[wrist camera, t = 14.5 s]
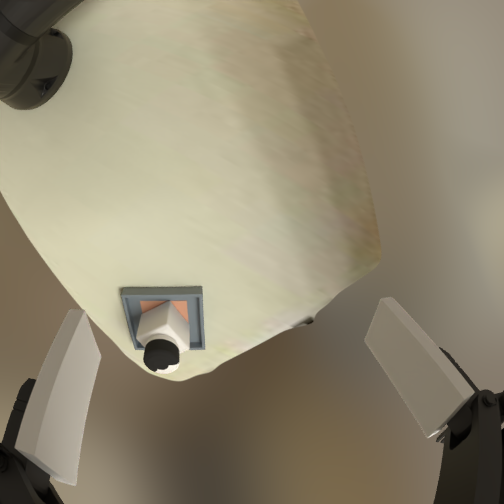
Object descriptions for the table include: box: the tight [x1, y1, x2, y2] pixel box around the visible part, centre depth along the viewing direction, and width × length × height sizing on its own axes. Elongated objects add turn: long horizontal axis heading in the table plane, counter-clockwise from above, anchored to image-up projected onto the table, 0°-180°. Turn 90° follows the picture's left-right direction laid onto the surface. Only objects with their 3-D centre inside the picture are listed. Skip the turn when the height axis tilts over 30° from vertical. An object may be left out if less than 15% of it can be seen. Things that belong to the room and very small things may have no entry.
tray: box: [121, 287, 205, 350], centre depth 50 cm, size 14×15×2 cm
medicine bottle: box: [136, 301, 190, 374], centre depth 45 cm, size 7×7×12 cm
